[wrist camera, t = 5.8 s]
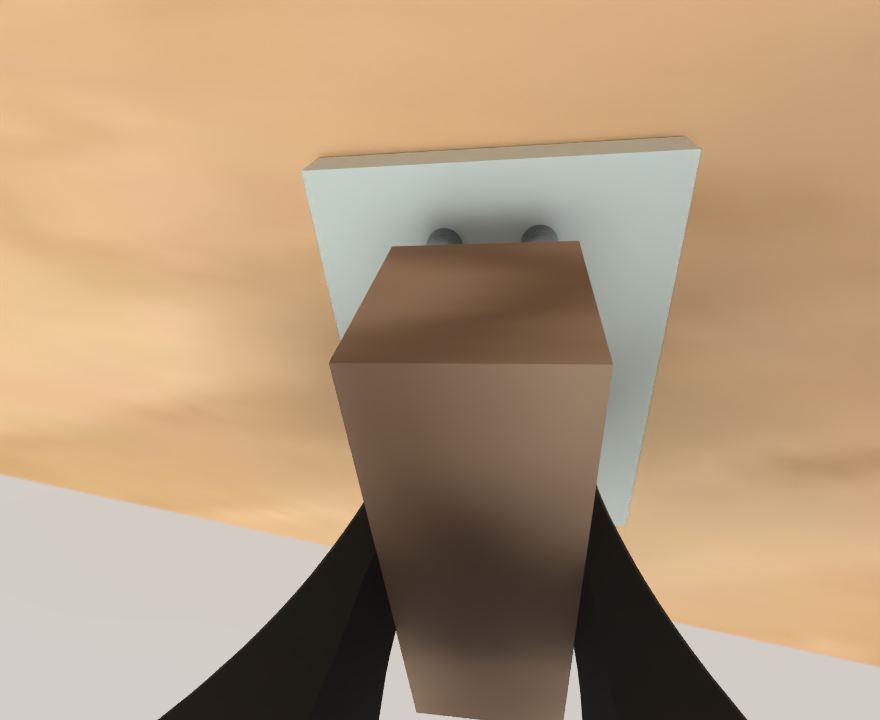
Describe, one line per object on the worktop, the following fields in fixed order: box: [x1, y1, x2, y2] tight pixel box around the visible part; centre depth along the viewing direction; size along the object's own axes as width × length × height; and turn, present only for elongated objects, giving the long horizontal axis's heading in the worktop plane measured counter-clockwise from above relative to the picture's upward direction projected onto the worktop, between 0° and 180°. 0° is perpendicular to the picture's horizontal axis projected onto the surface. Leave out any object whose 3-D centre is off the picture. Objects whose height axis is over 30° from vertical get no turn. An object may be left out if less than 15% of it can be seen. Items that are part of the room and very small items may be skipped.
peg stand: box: [301, 136, 701, 526], centre depth 16 cm, size 10×14×4 cm
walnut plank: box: [329, 241, 613, 720], centre depth 12 cm, size 4×12×4 cm, turn 5°
